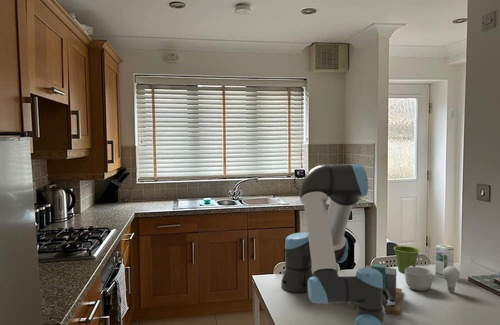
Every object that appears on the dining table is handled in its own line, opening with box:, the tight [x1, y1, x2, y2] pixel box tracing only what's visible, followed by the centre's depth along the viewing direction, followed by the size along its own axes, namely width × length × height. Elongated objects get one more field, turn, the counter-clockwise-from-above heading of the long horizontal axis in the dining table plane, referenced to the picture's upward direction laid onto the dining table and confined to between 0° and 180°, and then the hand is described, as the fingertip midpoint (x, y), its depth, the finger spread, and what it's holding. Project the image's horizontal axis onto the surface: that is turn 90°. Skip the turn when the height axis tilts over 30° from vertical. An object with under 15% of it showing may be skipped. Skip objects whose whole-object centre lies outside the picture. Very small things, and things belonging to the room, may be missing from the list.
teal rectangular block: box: [371, 263, 387, 299], centre depth 145 cm, size 5×14×12 cm, turn 156°
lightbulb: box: [443, 266, 461, 293], centre depth 151 cm, size 6×6×11 cm
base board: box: [354, 287, 403, 316], centre depth 144 cm, size 16×23×2 cm
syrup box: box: [434, 244, 455, 279], centre depth 170 cm, size 6×6×14 cm
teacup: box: [404, 266, 433, 292], centre depth 157 cm, size 14×11×8 cm
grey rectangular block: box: [364, 265, 397, 299], centre depth 147 cm, size 12×8×10 cm, turn 66°
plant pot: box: [393, 245, 420, 274], centre depth 177 cm, size 12×12×11 cm
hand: (379, 284), depth 138 cm, fingers closed
